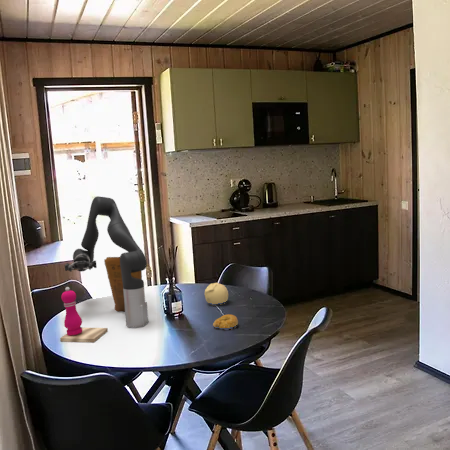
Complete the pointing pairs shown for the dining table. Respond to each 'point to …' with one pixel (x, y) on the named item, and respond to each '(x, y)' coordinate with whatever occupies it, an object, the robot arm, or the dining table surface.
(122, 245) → the robot arm
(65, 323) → the pepper mill
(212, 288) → the tan round lump
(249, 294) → the dining table surface
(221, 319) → the bagel
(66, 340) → the birch board
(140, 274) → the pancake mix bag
